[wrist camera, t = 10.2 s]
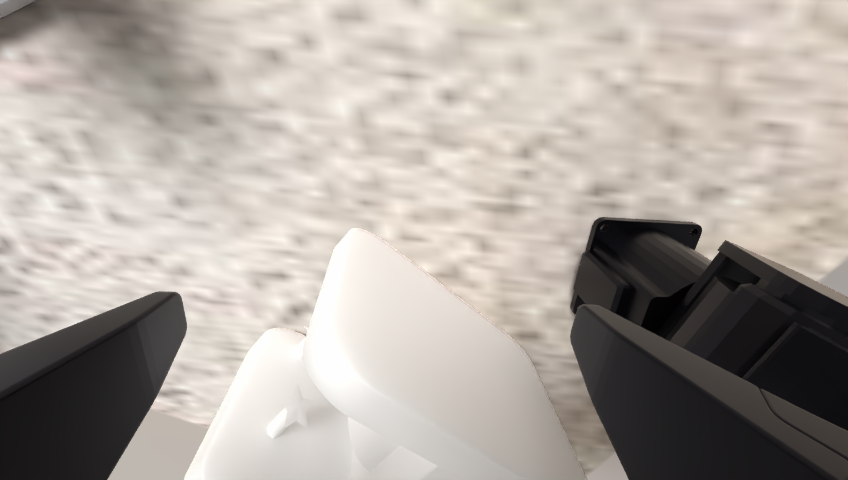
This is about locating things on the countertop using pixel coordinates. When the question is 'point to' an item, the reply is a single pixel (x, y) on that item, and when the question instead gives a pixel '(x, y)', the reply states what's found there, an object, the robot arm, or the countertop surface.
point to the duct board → (12, 6)
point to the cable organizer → (386, 389)
